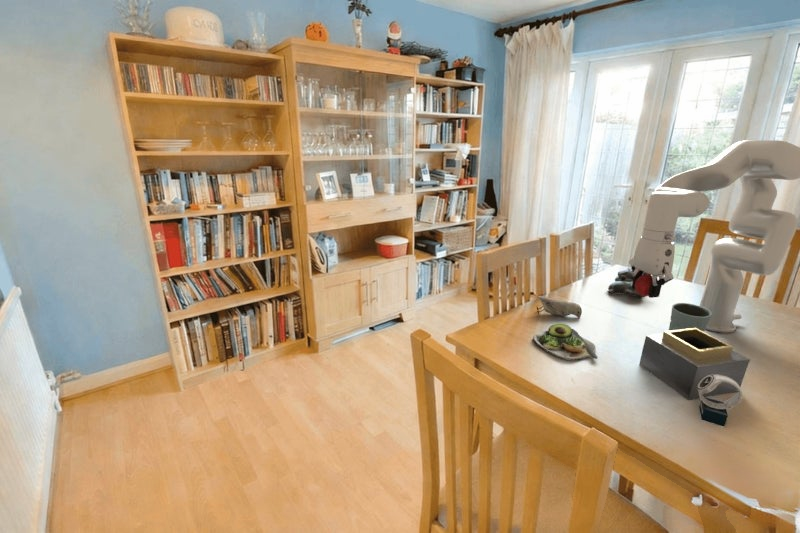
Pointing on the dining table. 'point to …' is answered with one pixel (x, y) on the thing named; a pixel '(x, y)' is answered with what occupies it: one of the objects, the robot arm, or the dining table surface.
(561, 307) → the decorative bird
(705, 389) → the watch
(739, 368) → the housing
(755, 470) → the dining table surface
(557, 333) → the salad plate
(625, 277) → the dark grey lumpy piece
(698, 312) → the grey-green pot
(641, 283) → the onion
